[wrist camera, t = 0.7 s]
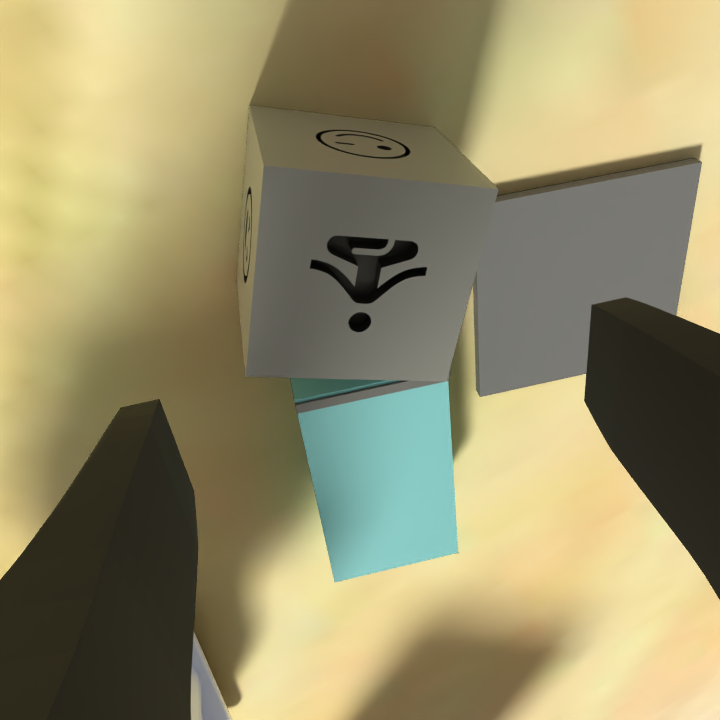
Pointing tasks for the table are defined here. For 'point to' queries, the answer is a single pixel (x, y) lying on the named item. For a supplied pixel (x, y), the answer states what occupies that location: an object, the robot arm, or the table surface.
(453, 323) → the dice cube
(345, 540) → the turquoise box
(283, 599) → the table surface
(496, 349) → the stub pad
